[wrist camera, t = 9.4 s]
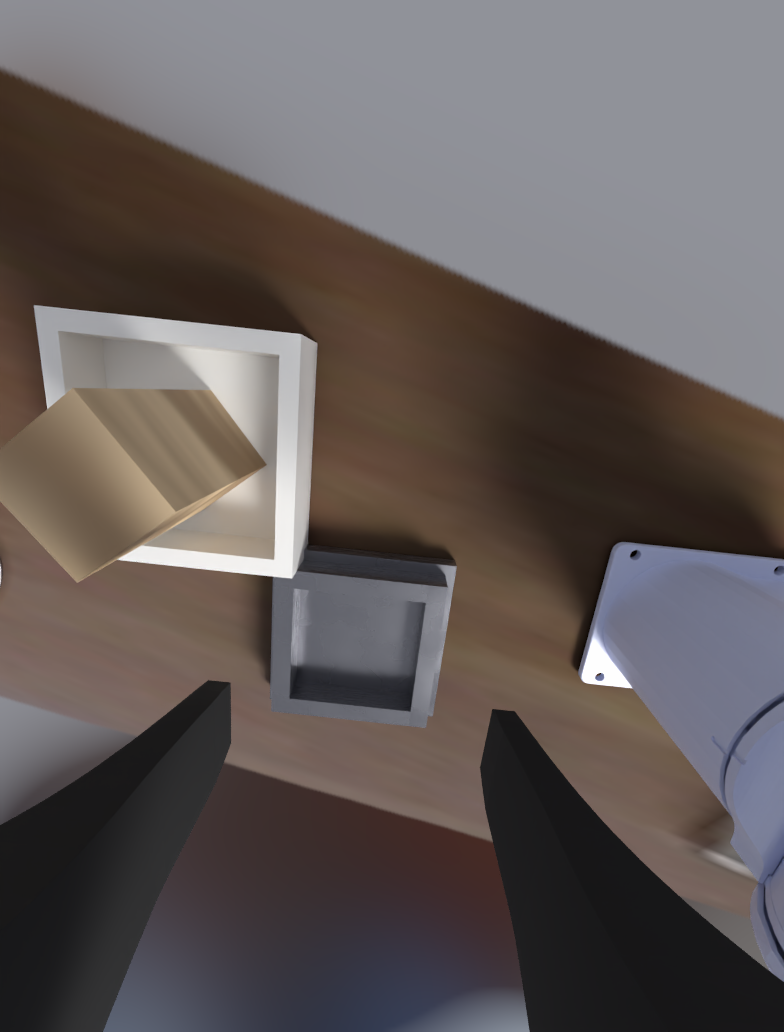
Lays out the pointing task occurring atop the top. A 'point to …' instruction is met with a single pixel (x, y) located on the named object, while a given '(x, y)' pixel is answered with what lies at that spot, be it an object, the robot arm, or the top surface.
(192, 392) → the peg
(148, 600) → the top surface
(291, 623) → the stud socket
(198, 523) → the bin tray
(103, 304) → the top surface
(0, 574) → the can
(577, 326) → the top surface
